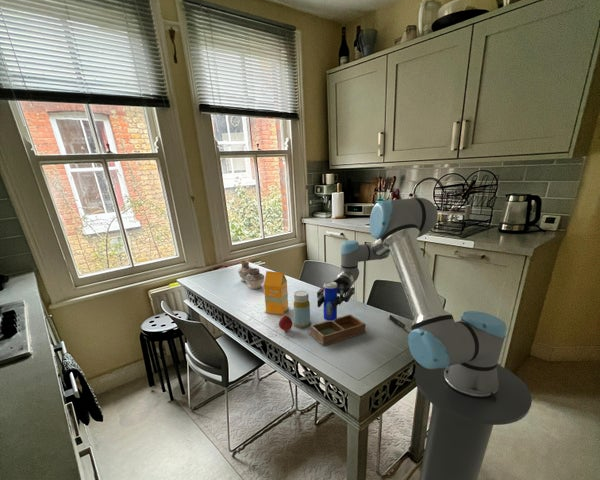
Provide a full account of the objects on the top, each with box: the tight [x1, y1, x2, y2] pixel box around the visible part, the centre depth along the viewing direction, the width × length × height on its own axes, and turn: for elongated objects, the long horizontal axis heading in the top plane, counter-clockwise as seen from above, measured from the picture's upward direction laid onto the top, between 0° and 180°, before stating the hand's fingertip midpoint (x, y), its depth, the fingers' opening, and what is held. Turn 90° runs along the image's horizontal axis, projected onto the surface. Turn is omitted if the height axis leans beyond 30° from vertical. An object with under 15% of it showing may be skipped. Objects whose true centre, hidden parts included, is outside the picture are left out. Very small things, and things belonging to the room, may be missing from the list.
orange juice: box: [263, 270, 289, 316], centre depth 151 cm, size 8×9×20 cm
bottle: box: [293, 290, 311, 328], centre depth 138 cm, size 7×7×15 cm
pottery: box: [237, 259, 265, 290], centre depth 188 cm, size 11×25×12 cm, turn 30°
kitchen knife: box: [389, 314, 412, 333], centre depth 135 cm, size 18×1×2 cm, turn 21°
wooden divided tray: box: [310, 314, 366, 347], centre depth 132 cm, size 11×20×4 cm, turn 117°
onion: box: [278, 313, 294, 332], centre depth 135 cm, size 6×6×8 cm
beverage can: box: [323, 281, 338, 322], centre depth 121 cm, size 5×5×15 cm
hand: (325, 304), depth 116 cm, fingers closed on beverage can, 5 cm apart
